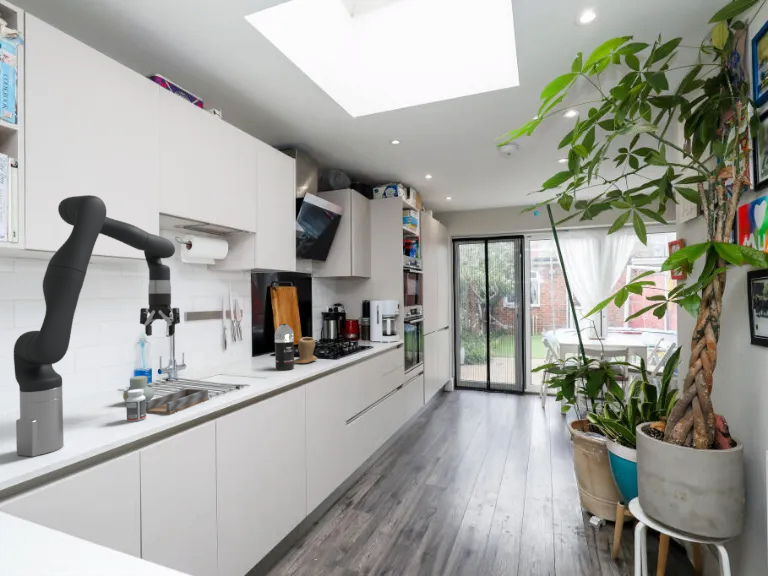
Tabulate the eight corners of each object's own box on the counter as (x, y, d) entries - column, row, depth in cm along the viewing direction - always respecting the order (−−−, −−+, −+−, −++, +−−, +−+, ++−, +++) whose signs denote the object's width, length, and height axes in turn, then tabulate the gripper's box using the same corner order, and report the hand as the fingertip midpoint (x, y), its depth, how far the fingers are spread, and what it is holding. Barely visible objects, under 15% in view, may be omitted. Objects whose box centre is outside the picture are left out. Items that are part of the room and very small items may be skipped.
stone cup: (308, 365, 236) (307, 339, 237) (291, 364, 242) (290, 338, 242) (322, 360, 250) (322, 336, 250) (306, 359, 255) (306, 335, 255)
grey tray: (170, 414, 146) (170, 403, 146) (145, 412, 149) (145, 401, 149) (208, 399, 166) (208, 389, 166) (186, 398, 169) (185, 388, 169)
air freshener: (156, 401, 164) (156, 376, 164) (135, 407, 157) (134, 380, 157) (142, 398, 170) (142, 374, 170) (121, 403, 163) (120, 377, 163)
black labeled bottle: (271, 369, 227) (270, 323, 227) (288, 366, 234) (287, 322, 234) (281, 371, 219) (280, 324, 219) (298, 368, 226) (297, 323, 226)
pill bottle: (142, 415, 146) (141, 387, 146) (148, 418, 142) (148, 390, 142) (124, 420, 141) (123, 391, 141) (130, 423, 138) (129, 393, 138)
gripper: (135, 292, 153) (135, 336, 153) (172, 292, 152) (172, 336, 152) (148, 292, 160) (148, 334, 160) (183, 292, 160) (183, 334, 159)
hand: (160, 335), depth 156 cm, fingers open, 8 cm apart
